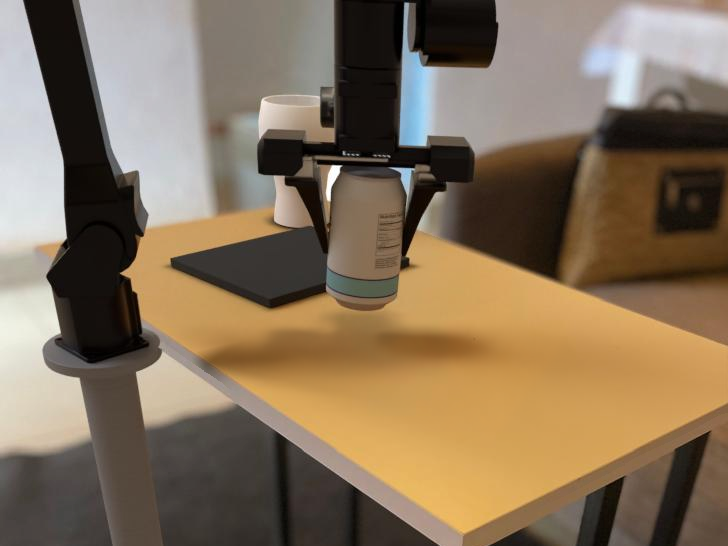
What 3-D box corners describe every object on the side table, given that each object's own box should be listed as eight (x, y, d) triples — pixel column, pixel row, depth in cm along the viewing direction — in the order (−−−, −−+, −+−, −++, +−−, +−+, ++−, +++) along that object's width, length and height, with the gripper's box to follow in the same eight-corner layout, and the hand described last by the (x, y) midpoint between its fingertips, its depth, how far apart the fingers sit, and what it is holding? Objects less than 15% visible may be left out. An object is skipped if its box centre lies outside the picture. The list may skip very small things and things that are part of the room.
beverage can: (345, 284, 85) (352, 158, 78) (407, 300, 83) (420, 172, 76) (312, 304, 80) (318, 170, 73) (378, 320, 78) (390, 185, 71)
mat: (270, 308, 89) (269, 298, 88) (170, 266, 98) (169, 258, 98) (409, 265, 102) (409, 257, 102) (310, 232, 112) (310, 225, 111)
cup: (255, 228, 112) (247, 103, 104) (273, 208, 121) (268, 91, 112) (333, 234, 112) (332, 109, 103) (346, 213, 120) (346, 97, 112)
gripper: (469, 59, 77) (455, 233, 86) (264, 49, 76) (272, 226, 85) (483, 75, 68) (466, 267, 77) (251, 64, 67) (262, 261, 76)
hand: (364, 254), depth 79 cm, fingers closed on beverage can, 7 cm apart
